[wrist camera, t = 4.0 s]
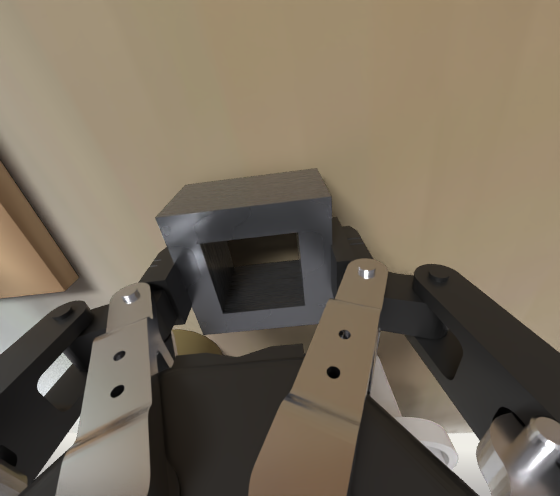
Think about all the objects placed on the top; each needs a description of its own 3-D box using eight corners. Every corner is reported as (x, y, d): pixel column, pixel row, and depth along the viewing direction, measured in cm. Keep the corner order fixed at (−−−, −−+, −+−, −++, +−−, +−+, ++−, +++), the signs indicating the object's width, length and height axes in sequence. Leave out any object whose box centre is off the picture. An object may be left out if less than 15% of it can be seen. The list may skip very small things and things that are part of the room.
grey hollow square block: (316, 168, 12) (331, 196, 9) (321, 274, 15) (333, 322, 12) (185, 184, 12) (155, 217, 9) (217, 285, 15) (203, 334, 12)
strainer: (396, 386, 22) (562, 788, 10) (314, 390, 22) (369, 796, 10) (415, 330, 19) (728, 867, 6) (316, 335, 19) (412, 881, 6)
